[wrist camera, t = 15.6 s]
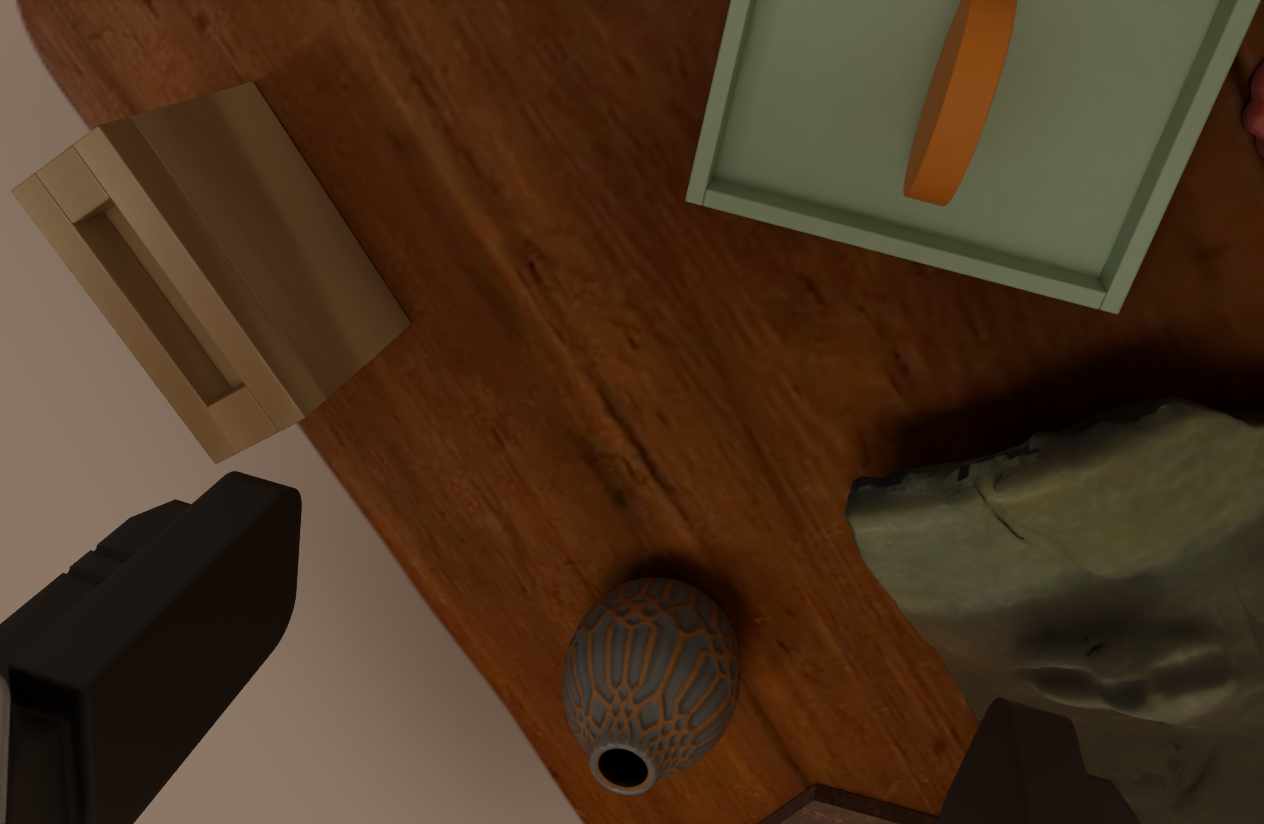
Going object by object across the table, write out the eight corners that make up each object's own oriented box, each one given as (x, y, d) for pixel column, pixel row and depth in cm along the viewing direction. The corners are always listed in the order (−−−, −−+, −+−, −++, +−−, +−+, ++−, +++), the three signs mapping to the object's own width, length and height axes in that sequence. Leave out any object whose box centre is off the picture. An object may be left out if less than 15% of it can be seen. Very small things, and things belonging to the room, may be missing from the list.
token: (907, 152, 34) (898, 230, 30) (972, -40, 31) (973, 14, 26) (943, 161, 34) (940, 241, 29) (1012, -31, 30) (1022, 25, 26)
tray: (694, 187, 36) (684, 201, 35) (783, -198, 31) (777, -203, 29) (1107, 295, 35) (1118, 315, 33) (1278, -89, 29) (1301, -88, 28)
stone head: (1104, 1026, 44) (780, 535, 35) (1108, 851, 51) (834, 396, 42) (1728, 1057, 33) (1490, 353, 24) (1633, 828, 40) (1416, 202, 31)
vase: (572, 556, 44) (504, 696, 36) (732, 543, 42) (697, 687, 34) (611, 687, 47) (556, 843, 39) (764, 681, 45) (737, 843, 37)
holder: (333, 366, 43) (214, 464, 35) (175, 135, 40) (9, 190, 32) (412, 323, 41) (305, 418, 34) (253, 80, 38) (97, 125, 31)
